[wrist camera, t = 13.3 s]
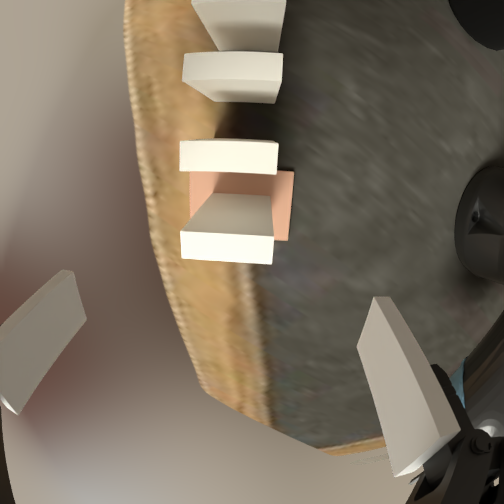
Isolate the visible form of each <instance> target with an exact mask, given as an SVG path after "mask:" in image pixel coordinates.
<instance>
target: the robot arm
mask: <svg viewBox="0 0 504 504" xmlns="http://www.w3.org/2000/svg"><path fill="white" fill-rule="evenodd" d="M455 246H456V251H457V254H458V257H459V259H460V261H461V263H462V264H463V265H464V266H465V267H466V268H467V269H468V270H469V271H471V272H472V273H473V274H474V275H476V276H478V277H480V278H485V279H488V280H491V281H494V282H497V283H500V284H503V285H504V168H501V167H497V166H491V167H487V168H485V169H483V170H481V171H480V172H479V173H478V174H477V175H476V176H475V177H474V178H473V179H472V180H471V182H470V183H469V185H468V186H467V188H466V190H465V192H464V194H463V197H462V199H461V202H460V205H459V208H458V212H457V216H456V222H455ZM86 320H87V318H86V315H85V312H84V309H83V305H82V302H81V298H80V295H79V291H78V288H77V284H76V280H75V277H74V272H73V271H66V270H61V271H60V272H59V273H58V274H57V275H55V276H54V277H53V278H52V279H50V281H48V282H47V283H46V284H45V285H44V286H43V287H41V288H40V289H39V290H38V291H37V292H36V293H35V294H33V296H31V297H30V298H29V299H28V300H27V301H26V302H25V303H24V304H23V305H22V306H21V307H20V308H18V309H17V310H16V311H15V312H14V313H13V314H12V315H11V316H10V317H9V318H8V319H7V320H6V321H5V322H4V323H2V325H0V399H1V400H2V402H3V403H4V404H5V405H6V407H7V408H9V409H10V410H11V411H13V412H14V413H16V414H17V415H19V413H20V412H21V410H22V409H23V407H24V406H25V404H26V402H27V401H28V399H29V398H30V396H31V395H32V393H33V392H34V390H35V389H36V387H37V386H38V384H39V383H40V381H41V380H42V378H43V377H44V376H45V374H46V373H47V371H48V370H49V368H50V367H51V366H52V364H53V363H54V361H55V360H56V359H57V358H58V356H59V354H60V353H61V352H62V351H63V349H64V348H65V347H66V345H67V344H68V343H69V342H70V340H71V339H72V338H73V336H74V335H75V334H76V332H77V331H78V330H79V329H80V327H81V326H82V325H83V324H84V323H85V321H86ZM357 349H358V352H359V355H360V358H361V361H362V364H363V367H364V370H365V373H366V377H367V380H368V383H369V386H370V389H371V393H372V396H373V399H374V402H375V406H376V409H377V413H378V416H379V420H380V423H381V427H382V431H383V435H384V438H385V442H386V446H387V450H388V454H389V458H390V462H391V467H392V471H393V476H394V477H397V476H401V475H405V474H408V473H411V472H414V471H415V470H416V469H418V468H419V467H420V466H421V465H423V467H424V471H423V472H422V473H421V474H419V475H418V476H417V477H415V478H414V479H412V480H411V482H410V483H409V484H410V485H412V484H413V483H415V482H416V481H417V483H416V485H415V487H414V489H413V491H412V493H411V495H410V497H409V498H408V500H407V502H406V504H504V310H503V312H502V313H501V315H500V316H499V318H498V319H497V320H496V322H495V323H494V325H493V326H492V327H491V329H490V330H489V331H488V333H487V334H486V335H485V337H484V338H483V339H482V340H481V342H480V343H479V344H478V345H477V347H476V348H475V349H474V350H473V351H472V353H471V354H470V355H469V356H467V357H466V358H465V359H464V360H463V361H462V363H461V365H460V367H459V368H458V369H457V370H456V371H455V373H454V374H453V375H452V376H451V377H450V378H449V377H448V375H447V374H446V372H445V371H444V370H443V369H442V368H440V367H439V366H438V365H437V364H433V365H429V363H428V361H427V359H426V357H425V355H424V353H423V352H422V350H421V348H420V346H419V345H418V343H417V341H416V339H415V338H414V336H413V334H412V332H411V331H410V329H409V327H408V326H407V324H406V322H405V321H404V319H403V317H402V316H401V314H400V312H399V311H398V309H397V308H396V306H395V304H394V303H393V301H392V300H391V298H390V297H373V301H372V304H371V307H370V310H369V313H368V316H367V319H366V322H365V325H364V328H363V331H362V334H361V336H360V339H359V342H358V344H357ZM498 477H499V484H498V485H497V486H494V480H495V479H497V478H498ZM0 504H15V500H14V497H13V493H12V489H11V485H10V480H9V475H8V470H7V464H6V458H5V451H4V443H3V433H2V419H1V407H0Z"/></svg>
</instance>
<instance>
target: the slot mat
mask: <svg viewBox="0 0 504 504" xmlns="http://www.w3.org/2000/svg"><path fill="white" fill-rule="evenodd" d="M293 180H294V172H293V171H281V170H277V173H276V175H273V174H258V173H239V172H210V171H190V219H191V218H192V216H193V215H194V214H195V213H196V212H197V211H198V209H199V208H200V207H201V206H202V205H203V203H204V202H205V201H206V200H207V199H208V198H209V196H210V195H211V194H212V193H226V194H247V195H264V196H270V198H271V208H272V219H273V230H274V240H284V241H288V232H289V223H290V212H291V202H292V191H293Z"/></svg>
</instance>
